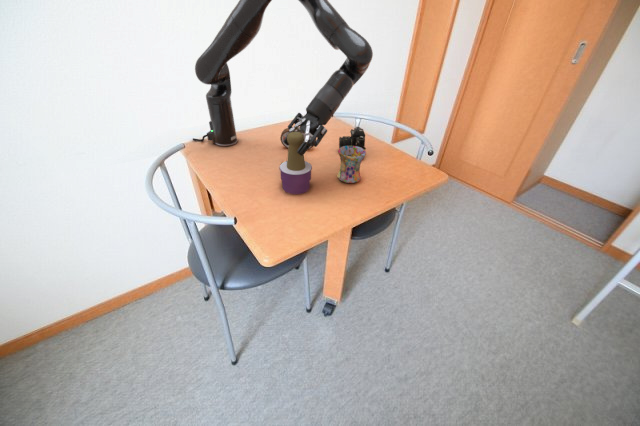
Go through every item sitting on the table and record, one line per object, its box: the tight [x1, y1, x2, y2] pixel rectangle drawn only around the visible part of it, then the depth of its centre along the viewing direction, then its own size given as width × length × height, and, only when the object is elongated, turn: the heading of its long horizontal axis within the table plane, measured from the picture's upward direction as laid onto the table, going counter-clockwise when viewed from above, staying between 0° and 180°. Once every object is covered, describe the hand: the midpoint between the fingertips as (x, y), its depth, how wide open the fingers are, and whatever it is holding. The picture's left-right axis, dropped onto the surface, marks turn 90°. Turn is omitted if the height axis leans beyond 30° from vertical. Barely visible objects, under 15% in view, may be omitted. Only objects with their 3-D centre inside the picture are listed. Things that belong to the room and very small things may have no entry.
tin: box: [279, 127, 317, 151], centre depth 114 cm, size 15×3×8 cm, turn 84°
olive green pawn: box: [286, 132, 306, 171], centre depth 84 cm, size 6×6×11 cm
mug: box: [336, 146, 367, 184], centre depth 95 cm, size 12×9×11 cm
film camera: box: [338, 126, 367, 151], centre depth 113 cm, size 18×12×10 cm
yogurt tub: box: [278, 160, 313, 195], centre depth 89 cm, size 10×10×8 cm
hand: (292, 148), depth 83 cm, fingers open, 8 cm apart
